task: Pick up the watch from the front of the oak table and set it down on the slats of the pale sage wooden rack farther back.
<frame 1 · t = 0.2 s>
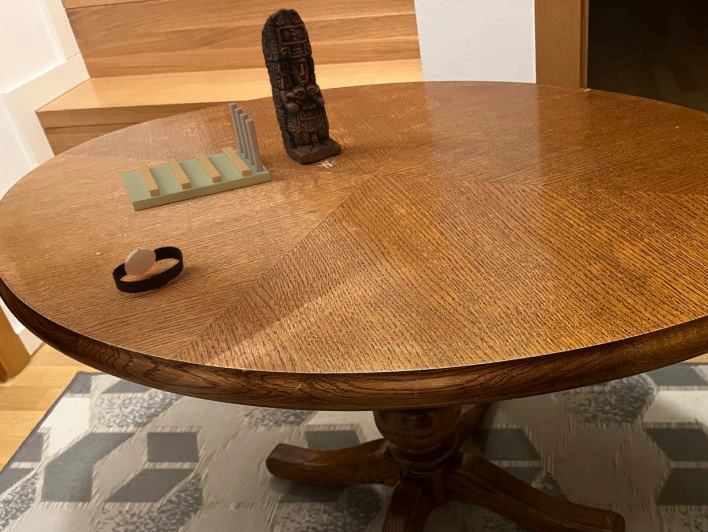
statue: (310, 155, 109), on the table
rack: (196, 181, 101), on the table
watch: (154, 282, 78), on the table
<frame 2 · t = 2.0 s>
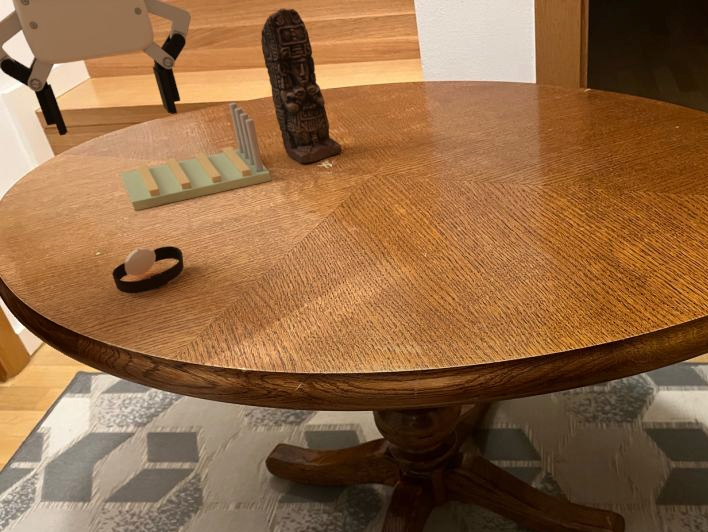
hand: (118, 120, 68), 17 cm above the table, tool pointing down, fingers open, 9 cm apart
nothing on the table moved.
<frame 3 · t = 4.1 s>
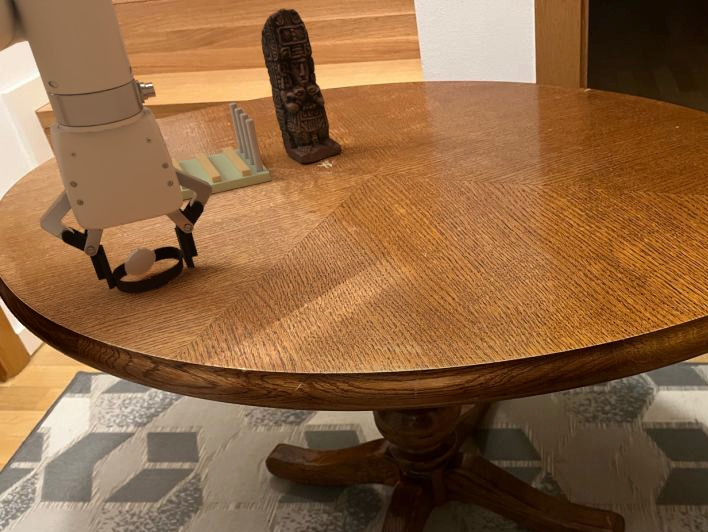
hand: (150, 272, 77), 1 cm above the table, tool pointing down, fingers closed on watch, 7 cm apart
watch: (154, 282, 78), on the table, touching gripper
everything else where it was.
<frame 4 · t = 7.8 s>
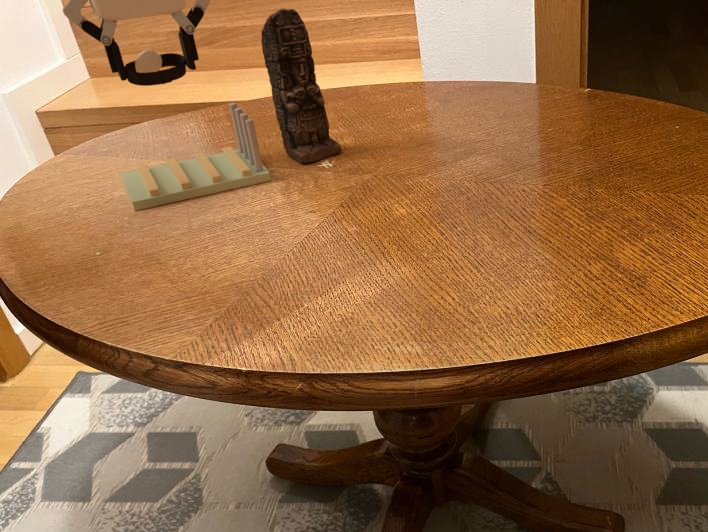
hand: (157, 71, 89), 16 cm above the table, tool pointing down, fingers closed on watch, 7 cm apart
watch: (160, 82, 89), point 15 cm above the table, touching gripper
everything else where it was.
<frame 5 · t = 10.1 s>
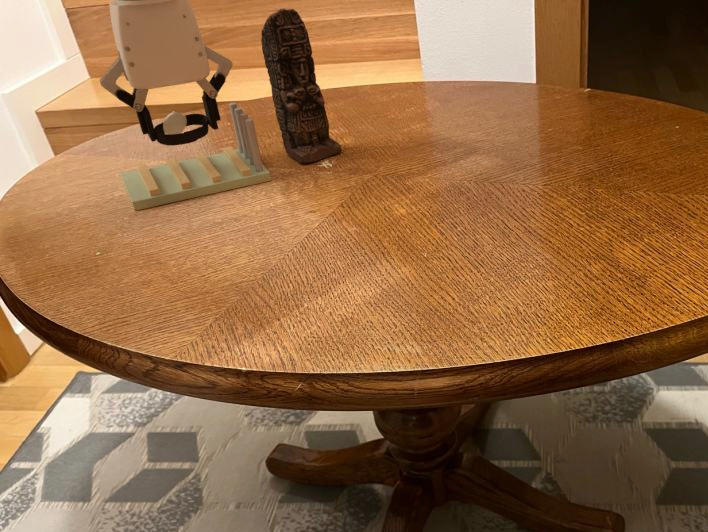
hand: (183, 131, 98), 7 cm above the table, tool pointing down, fingers closed on watch, 7 cm apart
watch: (185, 140, 98), point 6 cm above the table, touching gripper
everything else where it was.
when the fingers open (3 cm above the table, at t = 11.7 s): watch stays where it is, resting on rack.
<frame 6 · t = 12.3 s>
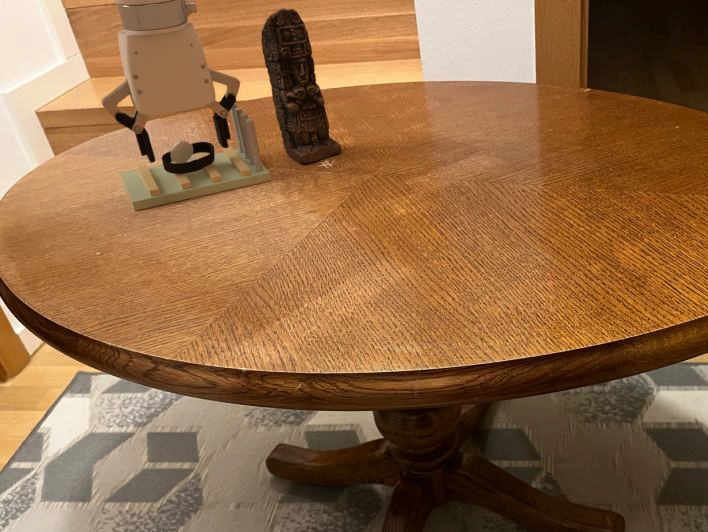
hand: (188, 152, 99), 4 cm above the table, tool pointing down, fingers open, 9 cm apart
watch: (192, 168, 100), point 2 cm above the table, touching rack
everything else where it was.
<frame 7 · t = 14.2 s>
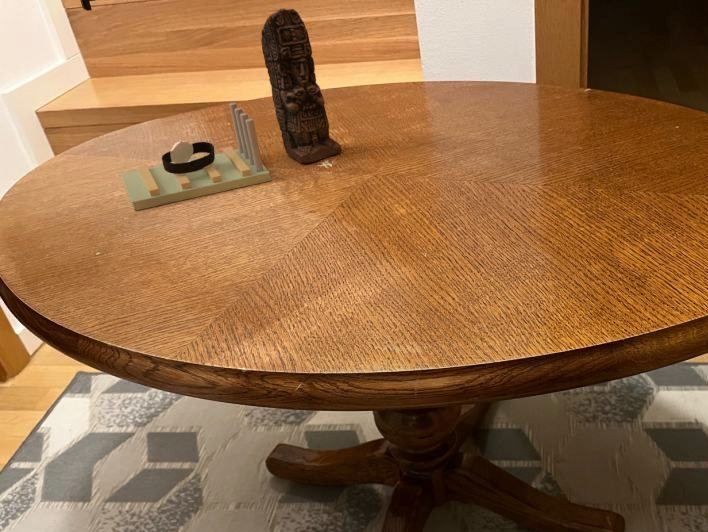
hand: (38, 13, 78), 24 cm above the table, tool pointing down, fingers open, 9 cm apart
nothing on the table moved.
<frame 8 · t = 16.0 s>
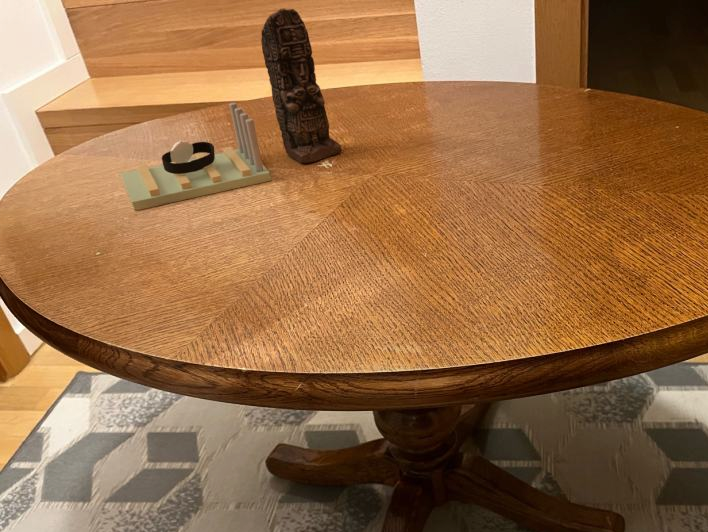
nothing on the table moved.
at the end: watch inside the target area on the rack (0.1 cm from its centre), point 1.8 cm above the rack's base; the gripper is holding nothing; watch tilted 0° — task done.
